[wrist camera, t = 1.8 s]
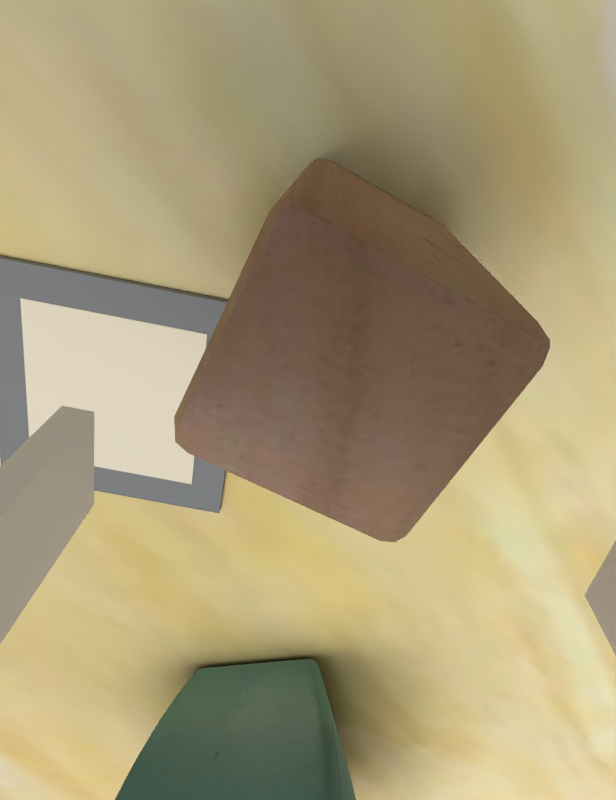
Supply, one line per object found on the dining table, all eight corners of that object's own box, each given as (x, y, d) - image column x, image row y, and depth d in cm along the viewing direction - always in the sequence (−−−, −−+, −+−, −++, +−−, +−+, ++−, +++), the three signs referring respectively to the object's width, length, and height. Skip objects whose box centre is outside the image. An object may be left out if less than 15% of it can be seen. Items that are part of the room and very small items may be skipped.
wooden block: (455, 231, 34) (575, 347, 16) (373, 359, 39) (399, 561, 21) (315, 150, 33) (281, 182, 15) (246, 293, 37) (156, 451, 19)
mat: (-14, 252, 37) (-20, 254, 36) (248, 304, 37) (247, 307, 37) (6, 469, 45) (1, 474, 44) (220, 508, 45) (218, 514, 45)
